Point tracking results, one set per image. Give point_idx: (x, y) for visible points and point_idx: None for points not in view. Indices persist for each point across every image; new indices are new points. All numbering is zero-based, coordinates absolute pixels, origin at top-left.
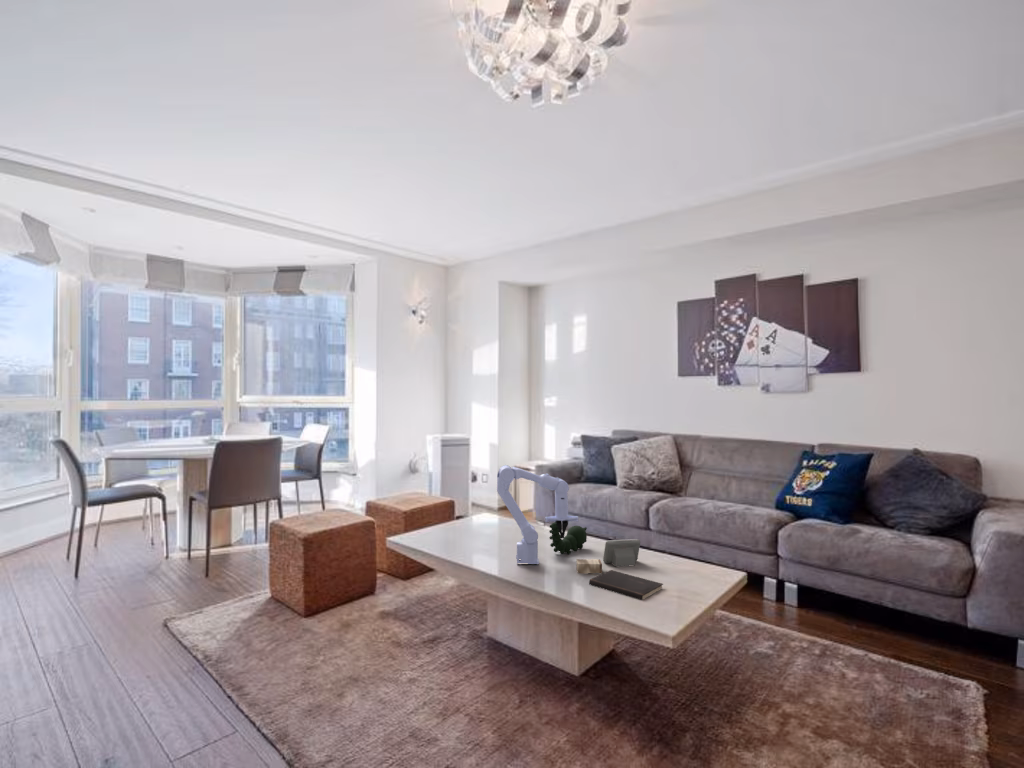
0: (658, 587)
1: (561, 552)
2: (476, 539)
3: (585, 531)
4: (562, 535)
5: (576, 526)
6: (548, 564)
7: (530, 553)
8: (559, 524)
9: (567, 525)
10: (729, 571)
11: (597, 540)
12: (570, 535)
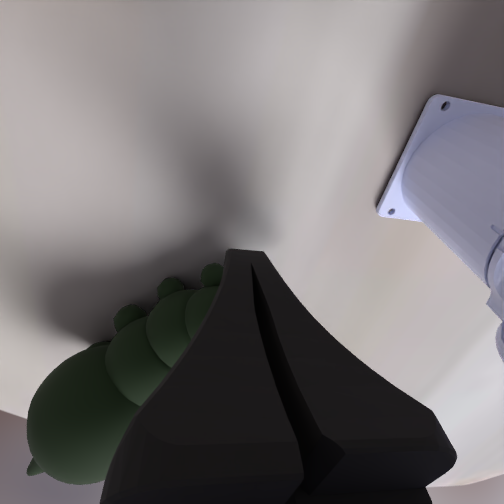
0: None
1: (220, 267)
2: (476, 417)
3: (27, 437)
4: (251, 267)
5: (79, 474)
6: (350, 109)
7: None
8: (388, 429)
9: (144, 404)
10: None
11: (27, 417)
12: (139, 396)
